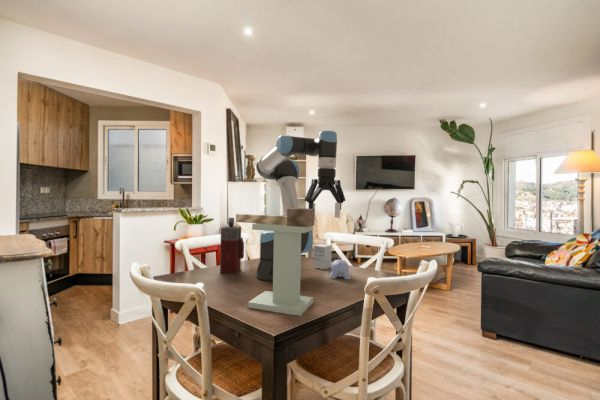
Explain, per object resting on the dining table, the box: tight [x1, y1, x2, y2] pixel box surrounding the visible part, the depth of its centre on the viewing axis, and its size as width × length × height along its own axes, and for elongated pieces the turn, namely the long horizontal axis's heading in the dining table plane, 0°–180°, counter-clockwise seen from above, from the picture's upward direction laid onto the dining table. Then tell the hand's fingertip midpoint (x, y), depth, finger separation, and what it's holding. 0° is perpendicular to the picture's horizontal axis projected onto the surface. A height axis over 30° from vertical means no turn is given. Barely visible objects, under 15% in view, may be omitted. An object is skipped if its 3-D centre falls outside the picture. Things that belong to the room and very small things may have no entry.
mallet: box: [235, 207, 316, 227], centre depth 117 cm, size 30×7×6 cm, turn 70°
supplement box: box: [313, 243, 332, 270], centre depth 176 cm, size 7×7×13 cm
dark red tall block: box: [219, 217, 245, 275], centre depth 163 cm, size 9×11×28 cm
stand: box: [247, 223, 314, 317], centre depth 116 cm, size 20×14×30 cm
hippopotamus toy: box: [328, 259, 352, 280], centre depth 158 cm, size 11×15×10 cm
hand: (325, 218), depth 135 cm, fingers open, 13 cm apart
